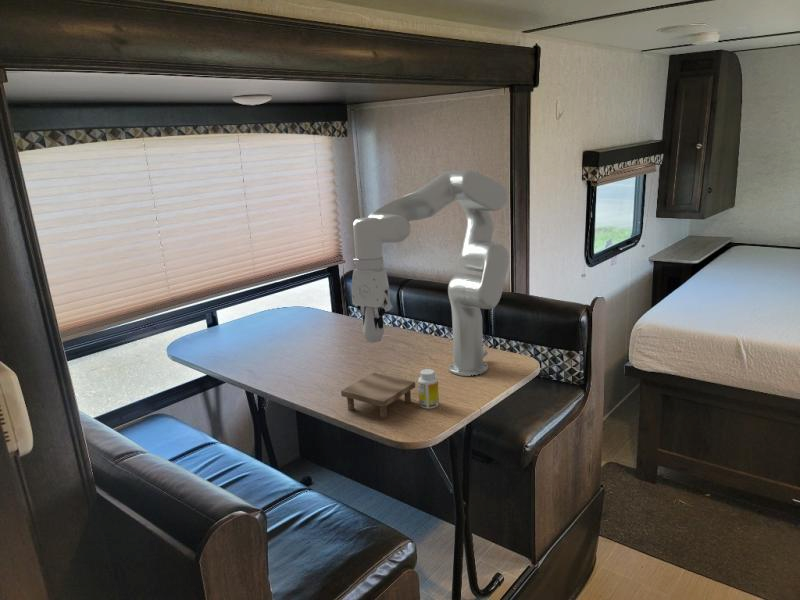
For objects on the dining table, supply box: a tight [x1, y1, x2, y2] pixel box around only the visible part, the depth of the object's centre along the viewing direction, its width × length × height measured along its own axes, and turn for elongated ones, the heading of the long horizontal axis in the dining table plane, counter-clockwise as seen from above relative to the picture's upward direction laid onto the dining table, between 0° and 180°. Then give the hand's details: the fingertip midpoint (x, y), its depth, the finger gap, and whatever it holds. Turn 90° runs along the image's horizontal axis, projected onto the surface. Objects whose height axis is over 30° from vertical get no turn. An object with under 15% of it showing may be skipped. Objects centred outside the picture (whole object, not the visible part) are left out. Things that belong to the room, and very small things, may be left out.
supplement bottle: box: [417, 368, 440, 410], centre depth 161 cm, size 6×6×10 cm
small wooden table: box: [340, 372, 416, 421], centre depth 163 cm, size 15×15×6 cm
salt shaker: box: [362, 307, 385, 343], centre depth 157 cm, size 6×6×13 cm
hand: (373, 329), depth 158 cm, fingers closed on salt shaker, 3 cm apart
